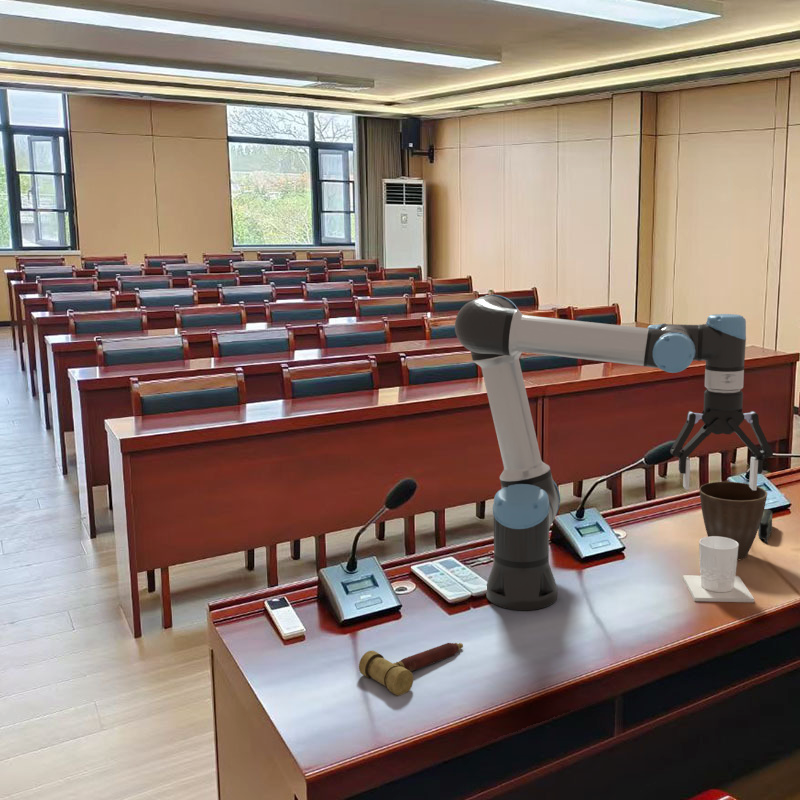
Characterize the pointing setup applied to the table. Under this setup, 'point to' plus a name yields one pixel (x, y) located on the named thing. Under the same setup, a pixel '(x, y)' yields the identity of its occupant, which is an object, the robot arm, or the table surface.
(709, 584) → the white cup
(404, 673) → the gavel
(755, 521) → the plant pot
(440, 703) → the table surface
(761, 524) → the mobile phone
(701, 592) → the tile
